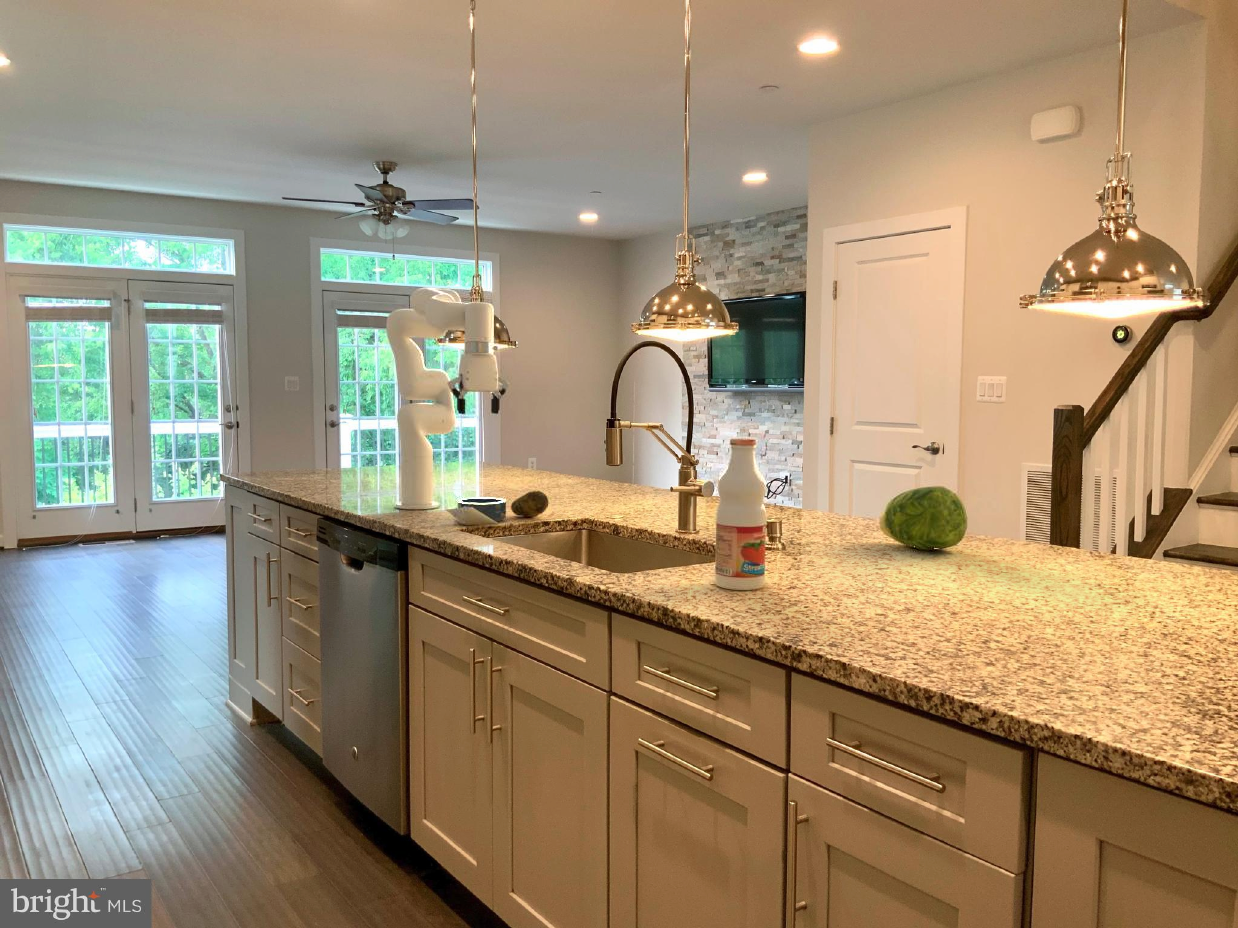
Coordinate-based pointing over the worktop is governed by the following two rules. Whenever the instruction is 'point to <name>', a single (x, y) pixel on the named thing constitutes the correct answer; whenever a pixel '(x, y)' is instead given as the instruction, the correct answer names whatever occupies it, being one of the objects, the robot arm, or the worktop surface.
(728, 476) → the fruit juice
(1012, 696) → the worktop surface
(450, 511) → the ice cream cone
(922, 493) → the lettuce
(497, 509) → the bowl
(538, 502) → the potato
